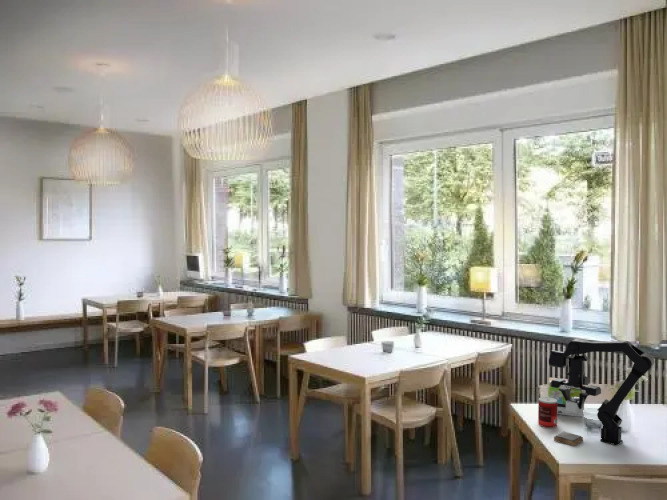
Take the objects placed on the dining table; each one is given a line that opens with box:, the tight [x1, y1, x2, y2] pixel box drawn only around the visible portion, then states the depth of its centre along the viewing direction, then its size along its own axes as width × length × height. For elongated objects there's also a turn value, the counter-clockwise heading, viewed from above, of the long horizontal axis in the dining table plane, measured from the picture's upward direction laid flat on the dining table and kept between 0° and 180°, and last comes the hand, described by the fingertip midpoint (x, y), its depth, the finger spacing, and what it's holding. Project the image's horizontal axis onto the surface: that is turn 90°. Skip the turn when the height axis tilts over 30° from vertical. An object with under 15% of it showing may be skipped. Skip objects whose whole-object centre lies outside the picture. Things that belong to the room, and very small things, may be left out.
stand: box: [553, 431, 584, 447], centre depth 228 cm, size 8×8×2 cm
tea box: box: [546, 377, 585, 418], centre depth 264 cm, size 15×10×15 cm
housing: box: [566, 397, 585, 413], centre depth 236 cm, size 4×7×5 cm, turn 132°
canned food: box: [537, 396, 558, 429], centre depth 247 cm, size 8×8×11 cm
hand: (574, 407), depth 236 cm, fingers closed on housing, 4 cm apart
